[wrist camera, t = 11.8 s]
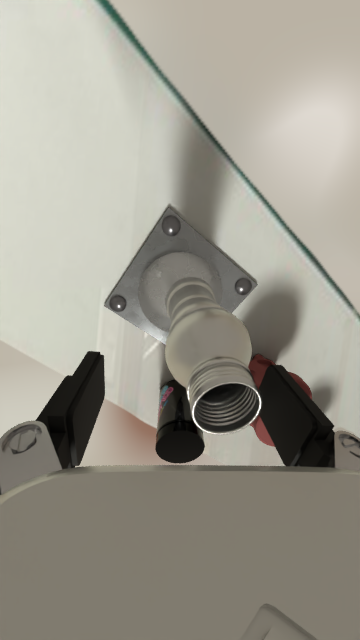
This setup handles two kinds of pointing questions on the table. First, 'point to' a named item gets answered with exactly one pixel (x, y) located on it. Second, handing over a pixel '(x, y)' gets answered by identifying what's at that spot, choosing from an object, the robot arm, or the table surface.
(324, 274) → the table surface
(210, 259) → the duct flange
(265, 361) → the mechanical component
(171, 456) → the supplement container
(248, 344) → the plastic bottle
